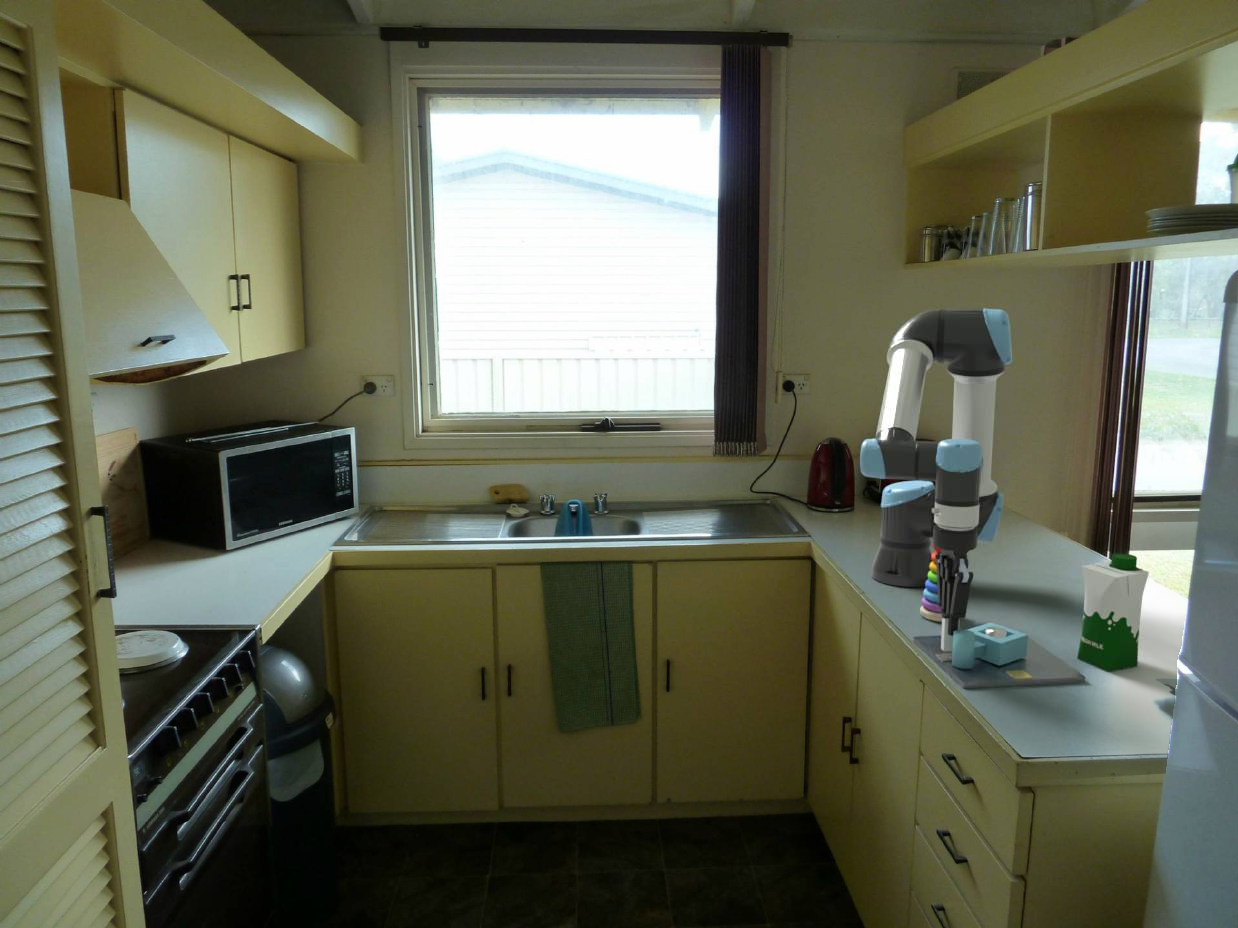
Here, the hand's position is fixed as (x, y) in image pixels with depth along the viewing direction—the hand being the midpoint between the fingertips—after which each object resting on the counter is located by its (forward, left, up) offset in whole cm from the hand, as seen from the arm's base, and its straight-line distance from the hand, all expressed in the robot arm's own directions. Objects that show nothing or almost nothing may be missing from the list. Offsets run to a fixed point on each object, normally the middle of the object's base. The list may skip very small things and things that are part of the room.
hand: (949, 649), depth 169 cm
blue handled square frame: (+2, +6, -1) cm, 6 cm away
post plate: (0, +9, -3) cm, 9 cm away
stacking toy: (-24, +9, -3) cm, 26 cm away
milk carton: (+3, +29, -3) cm, 29 cm away
